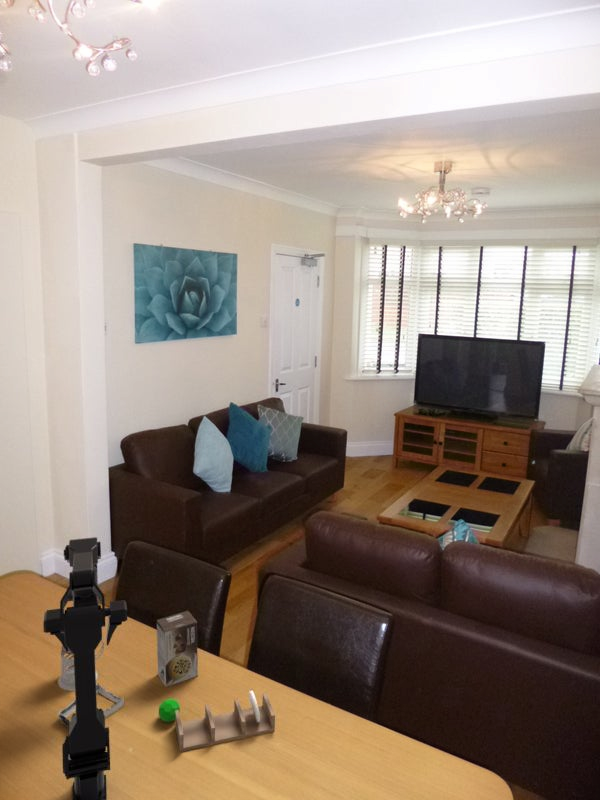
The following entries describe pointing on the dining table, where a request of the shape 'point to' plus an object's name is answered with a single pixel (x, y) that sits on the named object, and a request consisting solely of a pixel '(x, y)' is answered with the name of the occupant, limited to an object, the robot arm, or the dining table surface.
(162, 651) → the coffee box
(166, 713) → the polyhedron
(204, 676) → the dining table surface
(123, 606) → the robot arm
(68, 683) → the french press
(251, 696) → the saucer
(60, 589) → the dining table surface
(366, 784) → the dining table surface
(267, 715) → the rack
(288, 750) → the dining table surface
